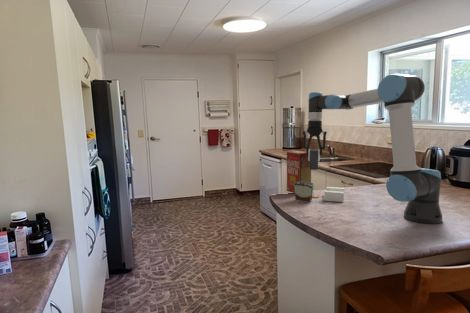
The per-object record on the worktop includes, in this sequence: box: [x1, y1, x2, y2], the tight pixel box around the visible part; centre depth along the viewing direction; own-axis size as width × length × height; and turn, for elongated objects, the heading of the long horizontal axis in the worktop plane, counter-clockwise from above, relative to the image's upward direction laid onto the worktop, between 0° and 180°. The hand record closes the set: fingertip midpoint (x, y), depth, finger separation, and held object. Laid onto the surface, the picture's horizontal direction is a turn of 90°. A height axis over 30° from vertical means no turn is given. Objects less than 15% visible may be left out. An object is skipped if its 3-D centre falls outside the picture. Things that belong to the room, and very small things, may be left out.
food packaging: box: [286, 150, 312, 194], centre depth 196 cm, size 13×9×25 cm
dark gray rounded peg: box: [310, 149, 319, 171], centre depth 184 cm, size 5×5×11 cm
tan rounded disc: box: [312, 193, 320, 199], centre depth 187 cm, size 7×7×1 cm
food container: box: [293, 181, 315, 204], centre depth 178 cm, size 12×6×10 cm, turn 47°
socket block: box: [323, 186, 346, 203], centre depth 182 cm, size 13×10×5 cm
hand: (314, 160), depth 184 cm, fingers closed on dark gray rounded peg, 5 cm apart
